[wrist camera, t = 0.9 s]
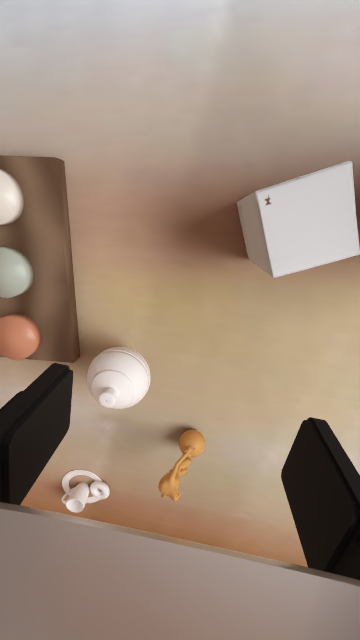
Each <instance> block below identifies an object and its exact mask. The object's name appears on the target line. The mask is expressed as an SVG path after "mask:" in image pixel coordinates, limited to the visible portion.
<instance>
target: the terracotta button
mask: <svg viewBox="0 0 360 640" xmlns="http://www.w3.org/2000/svg"><path fill="white" fill-rule="evenodd" d="M41 340H42V337H41V332H40V330H39V328H38V326H37V325H36V323H35V322H34V321H33V320H32V319H30V318H29V317H27V316H25V315H22V314H17V313H13V314H9V315H6V316H4V317H2V318H0V354H2V355H3V356H5V357H7V358H9V359H13V360H22V359H25V358H27V357H29V356H30V355H31V354H33V353H34V352H35V351H37V349H38V348H39V347H40V345H41Z"/></svg>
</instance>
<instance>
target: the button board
mask: <svg viewBox="0 0 360 640" xmlns="http://www.w3.org/2000/svg"><path fill="white" fill-rule="evenodd" d="M0 169H2V170H4V171H6V172H7V173H9V174H10V175H11V176H12V177H13V178H14V179H15V180H16V181H17V183H18V184H19V186H20V188H21V191H22V194H23V199H24V206H23V210H22V213H21V215H20V217H19V218H18V219H17V220H16V221H15V222H13V223H11V224H7V225H0V247H11V248H14V249H16V250H18V251H20V252H21V253H22V254H23V255H24V256H25V257H26V258H27V259H28V261H29V262H30V264H31V266H32V270H33V282H32V285H31V287H30V288H29V289H28V290H27V291H26V292H24V293H22V294H20V295H17V296H14V297H11V298H3V297H0V318H2V317H4V316H6V315H9V314H13V313H17V314H22V315H25V316H27V317H29V318H30V319H32V320H33V321H34V322H35V323H36V325H37V326H38V328H39V330H40V332H41V337H42V340H41V345H40V347H39V348H38V349H37V351H35V352H34V353H33V354H31V355H30V356H29V357H27V358H25V359H35V360H47V361H60V362H72V363H74V362H75V361H76V360H77V359H78V358H79V357H80V349H79V337H78V325H77V313H76V300H75V288H74V276H73V264H72V251H71V239H70V227H69V215H68V202H67V190H66V178H65V166H64V161H62V160H60V159H58V158H52V157H23V156H0ZM0 357H5V356H3V355H2V354H0Z"/></svg>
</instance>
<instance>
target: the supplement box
mask: <svg viewBox="0 0 360 640" xmlns="http://www.w3.org/2000/svg"><path fill="white" fill-rule="evenodd" d="M236 203H237V208H238V212H239V217H240V222H241V227H242V231H243V236H244V241H245V245H246V250H247V254H248V259H249V260H250V261H252V262H253V263H254V264H256V265H257V266H258V267H260V268H261V269H262V270H264V271H265V272H267V273H268V274H269V275H271V276H272V277H273V278H275V277H280V276H284V275H287V274H291V273H295V272H299V271H302V270H306V269H310V268H313V267H317V266H321V265H324V264H328V263H332V262H335V261H339V260H342V259H346V258H349V257H353V256H356V255H359V254H360V249H359V238H358V229H357V219H356V207H355V193H354V179H353V165H352V162H351V161H346V162H343V163H340V164H337V165H334V166H331V167H328V168H325V169H322V170H319V171H315V172H312V173H309V174H306V175H303V176H300V177H297V178H294V179H291V180H288V181H285V182H282V183H279V184H276V185H273V186H270V187H267V188H263V189H260V190H257V191H255V192H253V193H251V194H250V195H248V196H246V197H244V198H243V199H241V200H239V201H237V202H236Z"/></svg>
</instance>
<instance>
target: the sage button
mask: <svg viewBox="0 0 360 640" xmlns="http://www.w3.org/2000/svg"><path fill="white" fill-rule="evenodd" d="M32 282H33V270H32V266H31V264H30V262H29V261H28V259H27V258H26V257H25V256H24V255H23V254H22V253H21V252H20V251H18V250H16V249H14V248H11V247H0V297H3V298H11V297H14V296H17V295H20V294H22V293H24V292H26V291H27V290H28V289H29V288H30V287H31V285H32Z"/></svg>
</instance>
